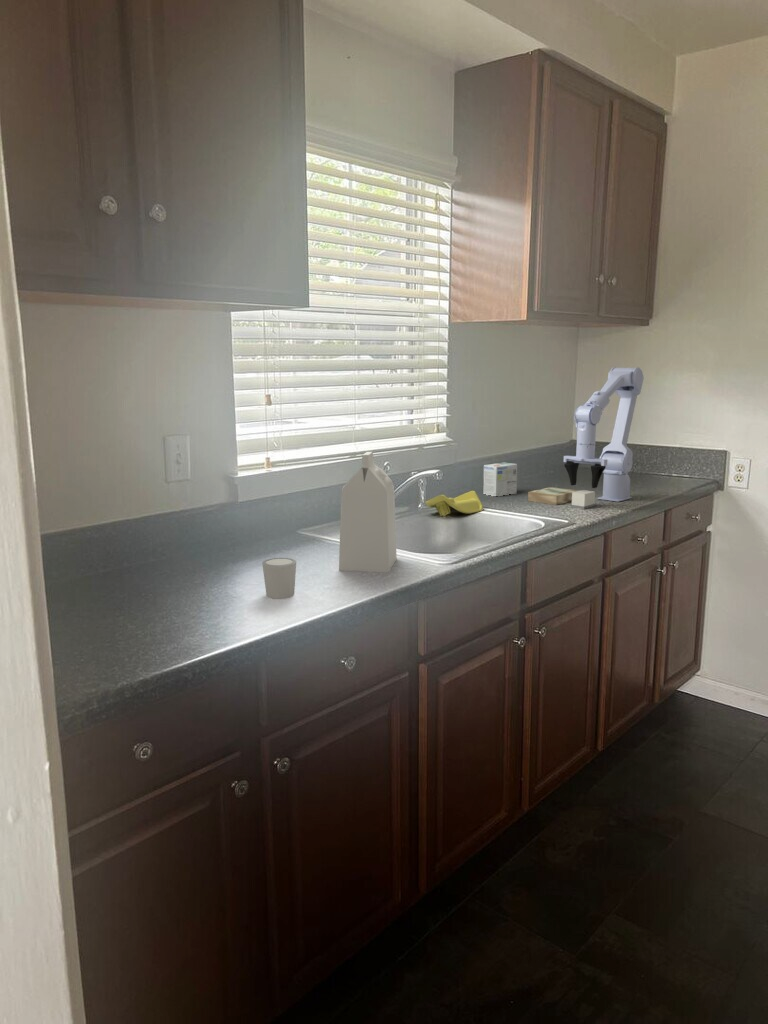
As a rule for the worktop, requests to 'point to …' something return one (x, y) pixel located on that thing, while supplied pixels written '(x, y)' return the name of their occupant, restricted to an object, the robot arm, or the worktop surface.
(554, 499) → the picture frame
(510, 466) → the light bulb box
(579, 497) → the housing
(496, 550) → the worktop surface
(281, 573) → the shot glass
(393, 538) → the milk
